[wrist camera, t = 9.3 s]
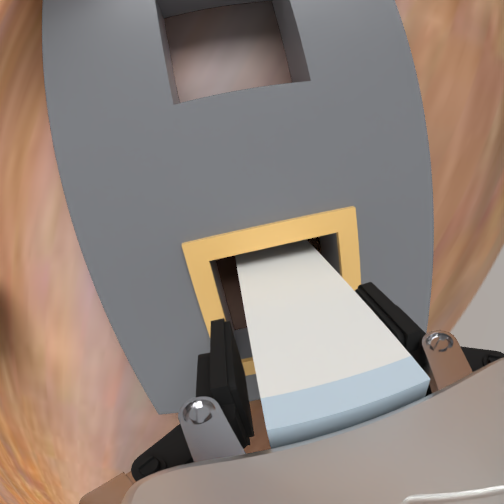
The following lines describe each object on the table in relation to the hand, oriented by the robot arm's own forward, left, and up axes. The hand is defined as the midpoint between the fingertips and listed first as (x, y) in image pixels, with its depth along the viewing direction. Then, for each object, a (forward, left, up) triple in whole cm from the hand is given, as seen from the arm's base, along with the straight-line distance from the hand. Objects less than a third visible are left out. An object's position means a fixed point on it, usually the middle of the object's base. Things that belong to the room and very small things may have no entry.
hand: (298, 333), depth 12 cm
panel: (0, -6, -6) cm, 9 cm away
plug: (0, 0, -6) cm, 6 cm away
